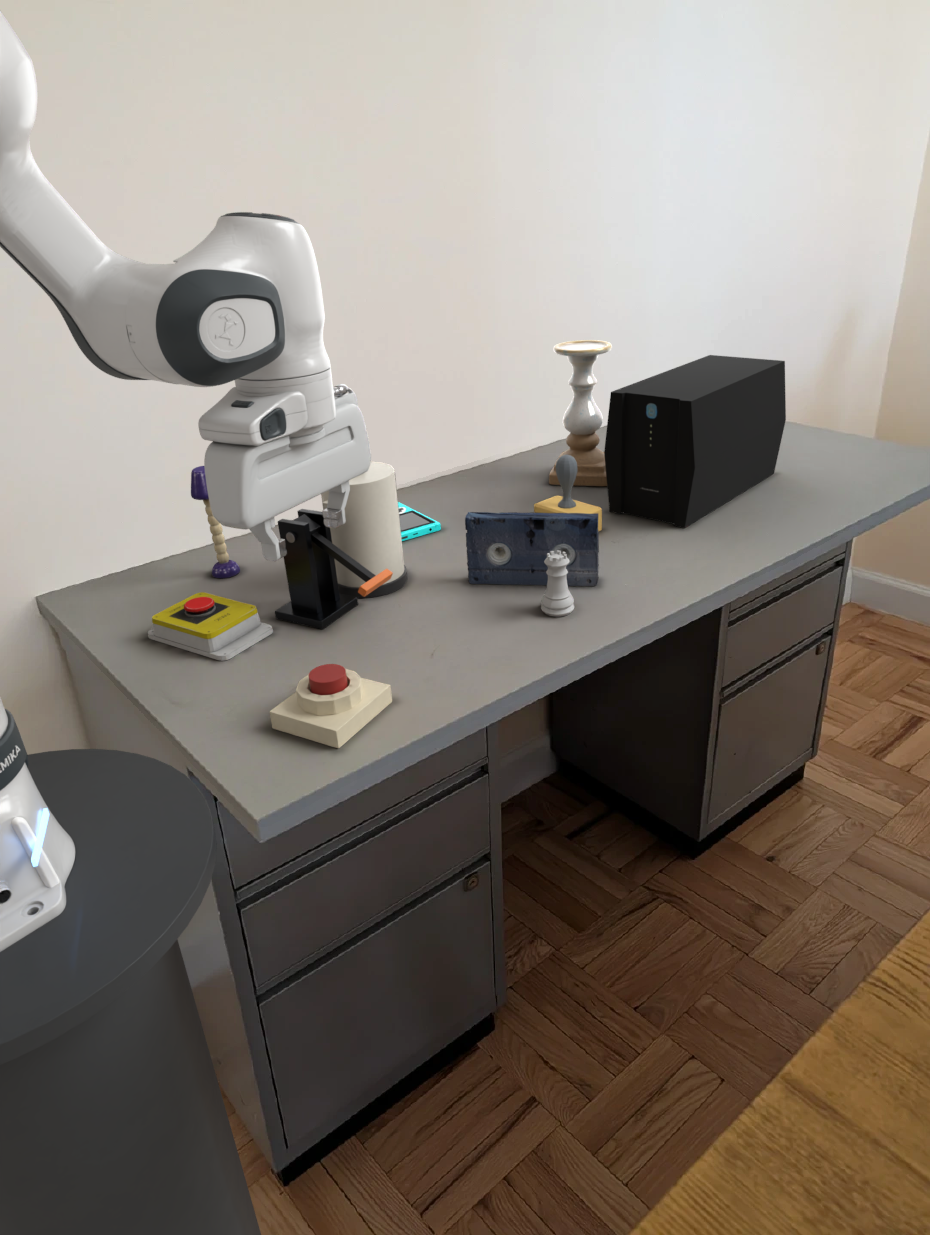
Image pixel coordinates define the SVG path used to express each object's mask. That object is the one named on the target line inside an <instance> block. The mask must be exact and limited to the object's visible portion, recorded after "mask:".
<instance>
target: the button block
mask: <svg viewBox="0 0 930 1235" xmlns="http://www.w3.org/2000/svg"><path fill="white" fill-rule="evenodd" d="M345 670H346V676H347V683H348V686H347V688H346V689H344V690H343V691H341V692H338V693H335V694H332V695H317V694H313V693H312V692H311V688H310V682H309V673H308V674H306V675H305V676H304V677H302V678H301V679H300V680H299V681H298V682H297V685H296V689H295V692H293V693H292V694H291V695H290V696H288V697H287V698H286V699H284V700H283V701H282V702H280V703H278V705H276V706H275V707H273V708H272V709H271V710H269V718H270V722H271V729H273V730H277V731H280V732H283V733H286V734H290V735H293V736H296V737H300V738H302V739H306V740H309V741H312V742H316V743H319V744H323V745H325V746H329V747H332V748H336V749H340V748H341V747H343V745H345V744H346V743H347V742H349V740H351V739H352V738H353V737H354V736H355V735H356V734H357V733H359V731H361V730H362V729H363V728H364V727H365V726H367V724H369V723H370V722H371V721H372V720H373V719H375V718H376V717H377V716H378V715H379V714H380V713H381V712H382V711H384V710H385V709H386V708H387V707H388V706H389V705H390V704H392V703H393V695H392V688H391V687H392V686H391V684H389V683H385V682H379V681H376V680H372V679H369V678H364V677H361V676H360V675H359V674H358V673H357V672H356V671H355V670H351V669H348V668H345Z"/></svg>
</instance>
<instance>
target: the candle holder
mask: <svg viewBox="0 0 930 1235" xmlns="http://www.w3.org/2000/svg"><path fill="white" fill-rule="evenodd" d="M612 349H613V345H612V343H611V342H609V341H606V340H598V339H583V340H581V339H580V340H568V341H563V342H560V343H557V344H555V345H554V346H553V352H554V353H555V354H556V355H559V356H564V357H566V358H567V361H568V363H569V364H570V365H571V368H572V373H571V376H570V378H569V379H568V381H567V384H568V385H569V386H570V389H571V391H572V394H573V396H572V399H571V402H570V403H569V405H568V406H567V408H566V410H565V412H564V413H563V417H562V425H563V427H564V429H565V430H566V431H567V432H569V434H568V435H567V436H566V439H565V442H566V445H567V447H568V449H566V450H565V451H562V452H561V453H560V454H559V456H557V459H556V461H555V462H554V465H553V467H552V469H551V470H550V472H549V474H548V484H549V485H553V486H554V485H557V486H561V485H560V483H559V480H558V478H557V474H556V462H557V460H558V459H559V458H560V457H561V456H563V455H570V456H572V457H574V459H575V460H576V462H577V475H576V478H575V481H574V484H573V486H583V487H584V486H586V487H607V478H606V467H605V456H604V451H603V450H601V449H600V448H598V447H597V446H598V445H599V444H600V442H601V439H600V436H599V435H598V434H597V431H598V430H599V429H601V428H602V426H603V423H604V418H603V417H604V416H603V414H602V411H601V410H600V408H599V407H598V405H597V403H596V401H595V399H594V397H593V391H594V389H595V386H596V385H597V384H598V379H597V378H596V376H595V375H594V371H593V369H594V365H595V363H596V362H597V360H598V359H599V356H600V355H603V354H607V353H610V351H612Z"/></svg>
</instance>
